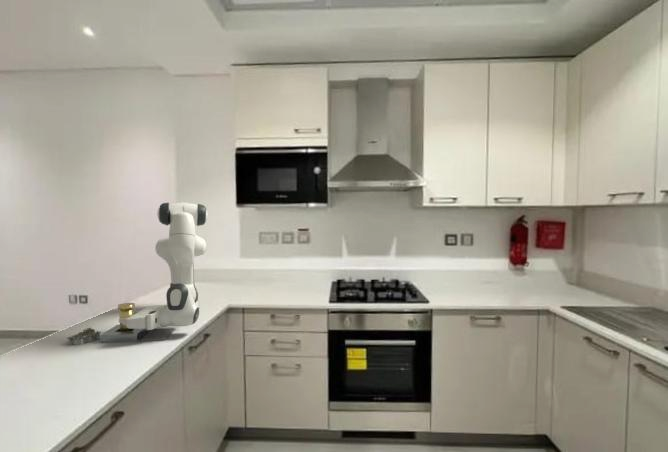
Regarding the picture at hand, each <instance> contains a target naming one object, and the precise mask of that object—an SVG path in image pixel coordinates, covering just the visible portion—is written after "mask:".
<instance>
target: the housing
mask: <svg viewBox="0 0 668 452" xmlns="http://www.w3.org/2000/svg"><path fill="white" fill-rule="evenodd" d="M151 331H152V330H147V328H145V329H134V330H133V331H126V332H120V324H116V325H114V326H113V327H111V328H110V329H108V330H107V331H104V332H103V333H102V334H101V333H100V338H99V339H100V343H122V342H123V343H124V342H126V343H127V342H138V341H139V340H141V339H142V338H144V337H145V336H146V335H147V334H149V333H150V332H151Z"/></svg>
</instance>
